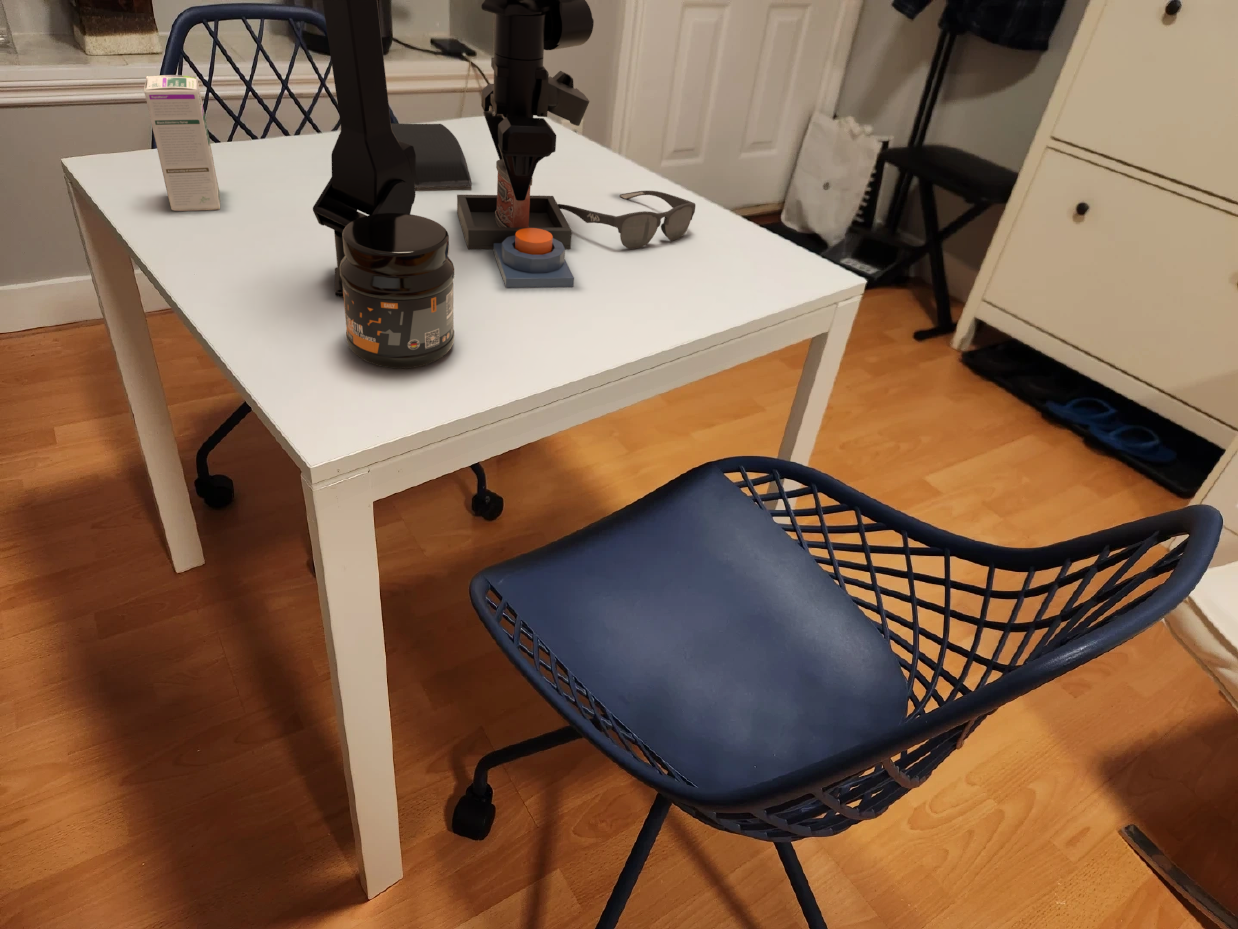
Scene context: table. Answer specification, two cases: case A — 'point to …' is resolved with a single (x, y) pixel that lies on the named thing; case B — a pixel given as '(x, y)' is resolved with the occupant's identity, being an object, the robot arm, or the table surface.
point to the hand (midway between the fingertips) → (514, 186)
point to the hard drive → (435, 155)
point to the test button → (533, 241)
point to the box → (532, 266)
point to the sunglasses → (643, 219)
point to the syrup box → (182, 142)
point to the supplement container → (397, 289)
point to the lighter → (510, 202)
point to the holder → (485, 231)
